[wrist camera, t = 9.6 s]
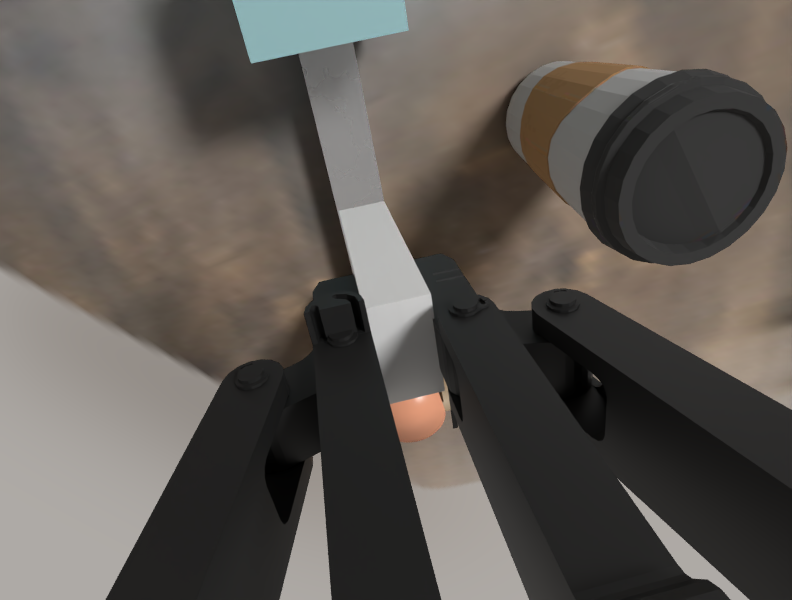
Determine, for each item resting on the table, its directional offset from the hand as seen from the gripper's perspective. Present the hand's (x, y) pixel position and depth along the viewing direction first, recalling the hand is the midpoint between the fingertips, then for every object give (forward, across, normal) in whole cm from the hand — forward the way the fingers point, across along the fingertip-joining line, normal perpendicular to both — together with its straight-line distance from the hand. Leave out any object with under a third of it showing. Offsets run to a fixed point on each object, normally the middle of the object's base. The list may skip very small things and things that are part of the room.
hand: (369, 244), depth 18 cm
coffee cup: (+18, +14, -1) cm, 23 cm away
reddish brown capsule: (+9, +1, -13) cm, 16 cm away
